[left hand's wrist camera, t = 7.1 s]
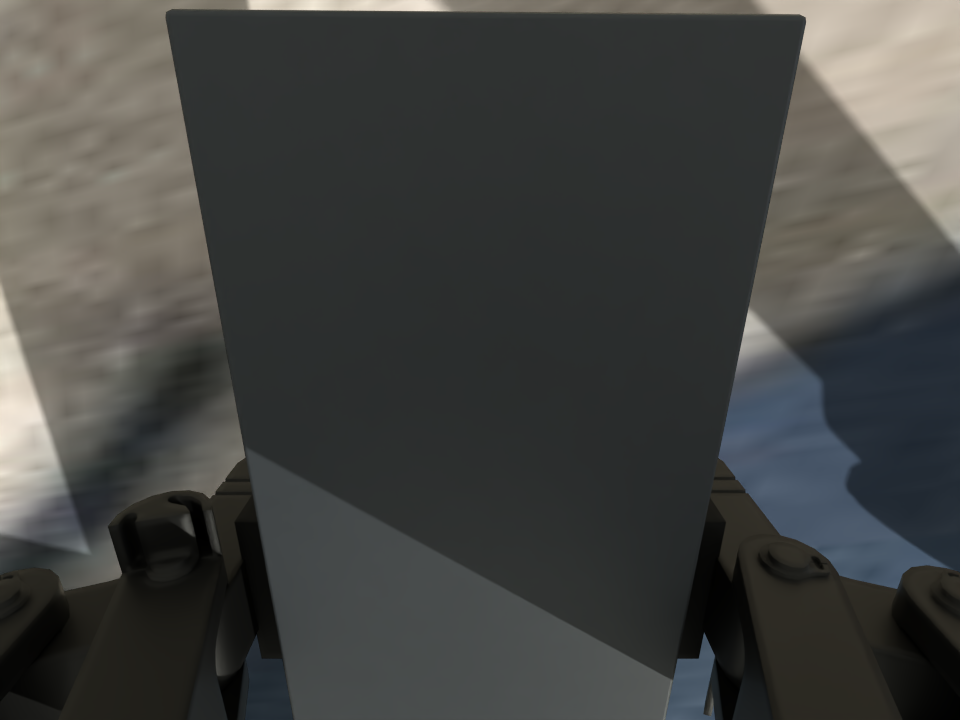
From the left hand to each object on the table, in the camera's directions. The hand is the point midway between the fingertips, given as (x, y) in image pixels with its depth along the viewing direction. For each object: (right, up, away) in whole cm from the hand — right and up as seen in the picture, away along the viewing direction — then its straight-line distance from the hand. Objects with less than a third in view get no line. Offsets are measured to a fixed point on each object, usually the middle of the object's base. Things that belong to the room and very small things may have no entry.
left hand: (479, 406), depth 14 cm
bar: (0, -21, +9) cm, 23 cm away
